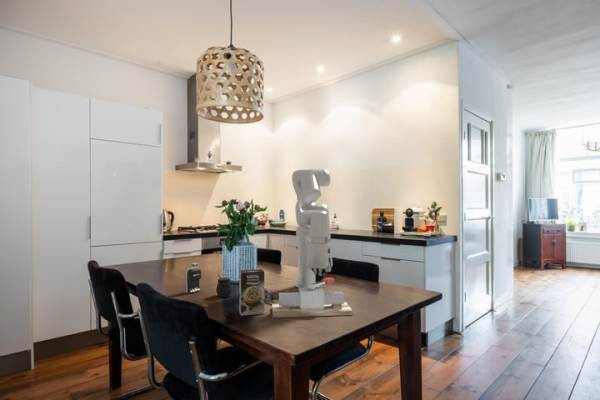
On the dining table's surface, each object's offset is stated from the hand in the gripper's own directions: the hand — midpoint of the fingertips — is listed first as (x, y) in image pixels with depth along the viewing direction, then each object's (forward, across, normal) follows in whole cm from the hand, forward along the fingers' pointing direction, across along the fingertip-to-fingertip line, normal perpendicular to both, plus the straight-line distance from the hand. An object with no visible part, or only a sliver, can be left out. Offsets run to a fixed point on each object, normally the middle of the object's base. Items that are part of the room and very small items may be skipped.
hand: (319, 284), depth 147 cm
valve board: (+8, -3, +11) cm, 14 cm away
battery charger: (+9, +59, +18) cm, 62 cm away
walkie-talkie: (+9, +23, +7) cm, 26 cm away
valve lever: (-1, -3, +4) cm, 6 cm away
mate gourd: (+8, +42, +15) cm, 46 cm away
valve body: (+6, -3, +11) cm, 13 cm away
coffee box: (+8, +15, +25) cm, 30 cm away
